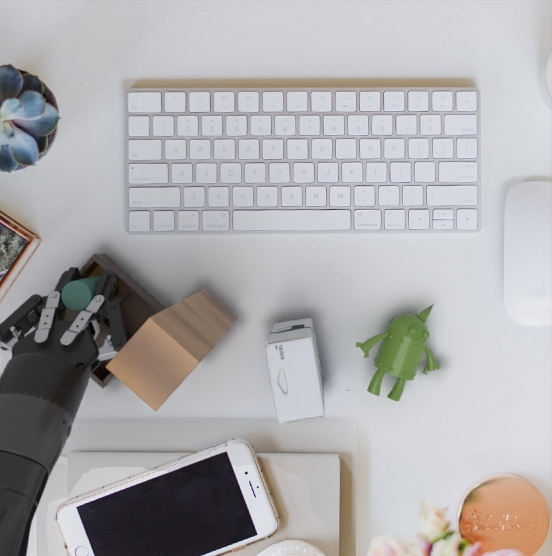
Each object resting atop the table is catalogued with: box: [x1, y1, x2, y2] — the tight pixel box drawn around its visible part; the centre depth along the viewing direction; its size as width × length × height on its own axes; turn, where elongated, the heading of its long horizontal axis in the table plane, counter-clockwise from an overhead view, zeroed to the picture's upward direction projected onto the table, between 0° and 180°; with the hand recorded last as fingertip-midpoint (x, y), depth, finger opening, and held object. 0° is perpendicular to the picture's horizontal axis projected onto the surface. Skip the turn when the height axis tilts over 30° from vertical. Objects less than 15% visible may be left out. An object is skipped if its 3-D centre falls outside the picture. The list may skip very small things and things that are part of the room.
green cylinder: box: [61, 275, 118, 311], centre depth 63 cm, size 3×3×8 cm
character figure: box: [355, 303, 441, 402], centre depth 65 cm, size 12×5×12 cm
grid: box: [33, 252, 167, 389], centre depth 67 cm, size 11×11×3 cm
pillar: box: [106, 288, 238, 412], centre depth 57 cm, size 6×6×22 cm
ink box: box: [265, 317, 326, 425], centre depth 62 cm, size 8×5×12 cm, turn 9°
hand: (92, 273), depth 63 cm, fingers closed on green cylinder, 3 cm apart
